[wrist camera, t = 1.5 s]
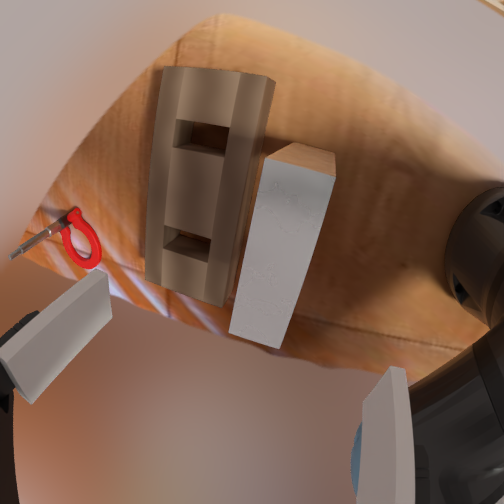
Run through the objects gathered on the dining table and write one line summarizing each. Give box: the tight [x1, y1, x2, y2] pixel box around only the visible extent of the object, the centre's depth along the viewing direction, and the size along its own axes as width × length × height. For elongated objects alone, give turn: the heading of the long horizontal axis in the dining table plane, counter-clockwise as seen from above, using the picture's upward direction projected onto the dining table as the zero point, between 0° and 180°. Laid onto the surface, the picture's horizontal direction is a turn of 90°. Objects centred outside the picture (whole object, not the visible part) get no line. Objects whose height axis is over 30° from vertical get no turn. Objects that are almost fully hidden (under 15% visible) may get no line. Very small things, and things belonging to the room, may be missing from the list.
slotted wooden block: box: [145, 66, 276, 308], centre depth 30 cm, size 10×24×4 cm, turn 168°
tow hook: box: [8, 208, 102, 269], centre depth 35 cm, size 8×13×9 cm
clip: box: [228, 142, 336, 349], centre depth 24 cm, size 4×13×13 cm, turn 168°
